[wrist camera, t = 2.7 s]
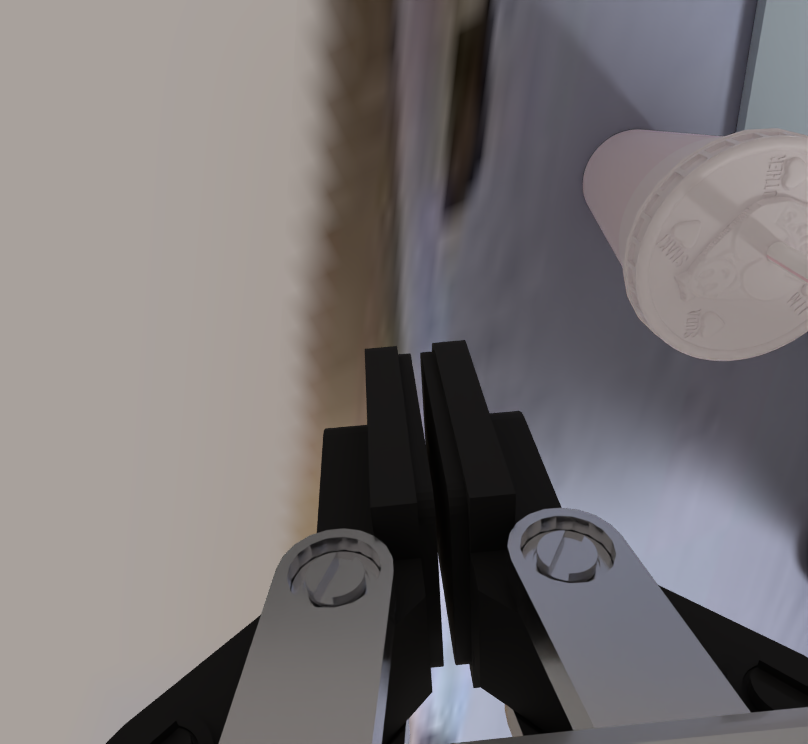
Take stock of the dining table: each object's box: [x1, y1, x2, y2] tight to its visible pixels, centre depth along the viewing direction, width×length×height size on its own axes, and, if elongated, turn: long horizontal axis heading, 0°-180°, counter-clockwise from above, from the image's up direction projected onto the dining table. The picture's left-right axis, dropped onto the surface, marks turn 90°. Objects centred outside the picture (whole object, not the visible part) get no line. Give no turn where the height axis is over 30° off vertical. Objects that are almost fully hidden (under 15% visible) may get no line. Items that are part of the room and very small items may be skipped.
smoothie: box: [583, 128, 808, 361], centre depth 20 cm, size 6×6×14 cm
